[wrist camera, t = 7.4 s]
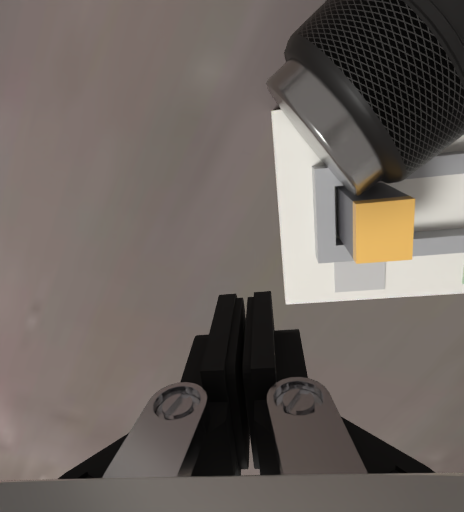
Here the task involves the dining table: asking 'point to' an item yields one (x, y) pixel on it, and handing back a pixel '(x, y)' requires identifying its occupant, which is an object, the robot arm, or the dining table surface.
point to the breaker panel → (333, 250)
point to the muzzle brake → (375, 86)
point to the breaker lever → (376, 224)
